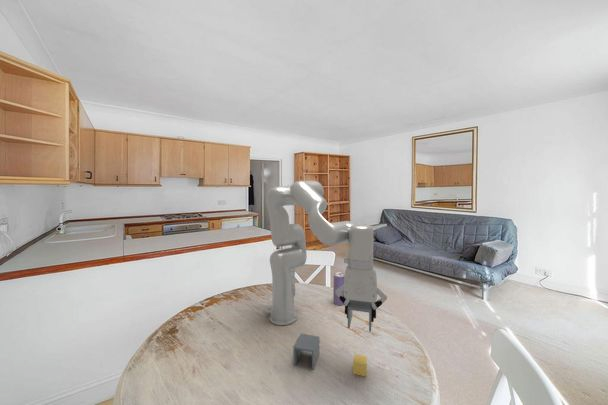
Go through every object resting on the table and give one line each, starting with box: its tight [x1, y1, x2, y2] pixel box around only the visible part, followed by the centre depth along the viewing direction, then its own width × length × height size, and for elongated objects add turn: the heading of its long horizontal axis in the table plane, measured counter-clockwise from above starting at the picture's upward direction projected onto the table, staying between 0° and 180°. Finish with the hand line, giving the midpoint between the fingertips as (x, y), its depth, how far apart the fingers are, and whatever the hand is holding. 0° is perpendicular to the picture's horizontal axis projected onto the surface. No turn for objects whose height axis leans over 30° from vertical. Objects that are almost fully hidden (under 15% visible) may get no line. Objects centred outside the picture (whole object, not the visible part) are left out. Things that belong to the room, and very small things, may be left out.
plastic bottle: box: [289, 268, 296, 295], centre depth 137 cm, size 6×7×20 cm
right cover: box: [347, 300, 373, 333], centre depth 79 cm, size 7×8×6 cm
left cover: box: [292, 332, 320, 371], centre depth 86 cm, size 7×8×6 cm
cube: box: [352, 353, 368, 377], centre depth 80 cm, size 4×4×4 cm
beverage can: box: [332, 272, 345, 306], centre depth 127 cm, size 6×6×15 cm
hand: (360, 317), depth 79 cm, fingers closed on right cover, 7 cm apart
